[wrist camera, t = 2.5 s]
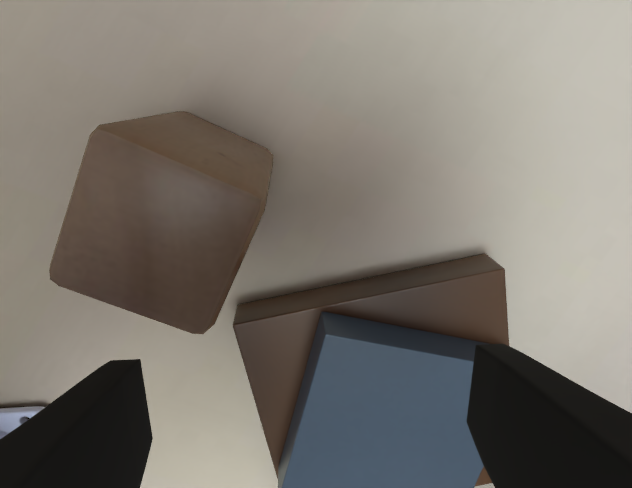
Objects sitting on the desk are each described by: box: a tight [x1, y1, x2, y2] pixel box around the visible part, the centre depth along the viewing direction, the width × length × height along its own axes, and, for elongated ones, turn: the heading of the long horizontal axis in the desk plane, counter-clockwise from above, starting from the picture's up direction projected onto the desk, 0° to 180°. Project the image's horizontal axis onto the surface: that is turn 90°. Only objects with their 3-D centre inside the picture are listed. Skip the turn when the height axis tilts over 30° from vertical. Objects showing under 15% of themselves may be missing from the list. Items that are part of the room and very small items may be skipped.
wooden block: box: [49, 112, 273, 334], centre depth 14 cm, size 4×4×8 cm
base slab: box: [233, 254, 509, 486], centre depth 20 cm, size 11×11×2 cm
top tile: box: [278, 312, 489, 488], centre depth 18 cm, size 8×8×2 cm
